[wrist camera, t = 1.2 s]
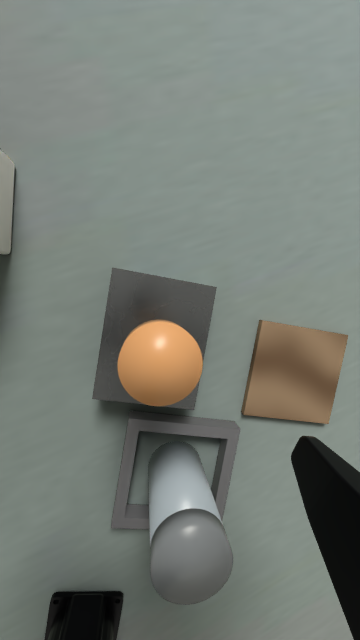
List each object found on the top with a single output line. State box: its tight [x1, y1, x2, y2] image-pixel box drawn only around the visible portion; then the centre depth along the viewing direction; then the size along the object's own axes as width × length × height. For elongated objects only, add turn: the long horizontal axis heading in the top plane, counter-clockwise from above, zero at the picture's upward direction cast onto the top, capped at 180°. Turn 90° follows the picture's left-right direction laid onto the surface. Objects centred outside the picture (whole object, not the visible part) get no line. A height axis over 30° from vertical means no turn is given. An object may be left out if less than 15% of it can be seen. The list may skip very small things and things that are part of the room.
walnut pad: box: [241, 320, 348, 424], centre depth 24 cm, size 9×9×1 cm
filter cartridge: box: [148, 441, 233, 605], centre depth 20 cm, size 5×5×9 cm
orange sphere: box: [118, 319, 203, 406], centre depth 15 cm, size 4×4×4 cm
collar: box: [111, 411, 240, 529], centre depth 23 cm, size 10×10×2 cm
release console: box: [92, 268, 217, 410], centre depth 21 cm, size 10×8×3 cm
